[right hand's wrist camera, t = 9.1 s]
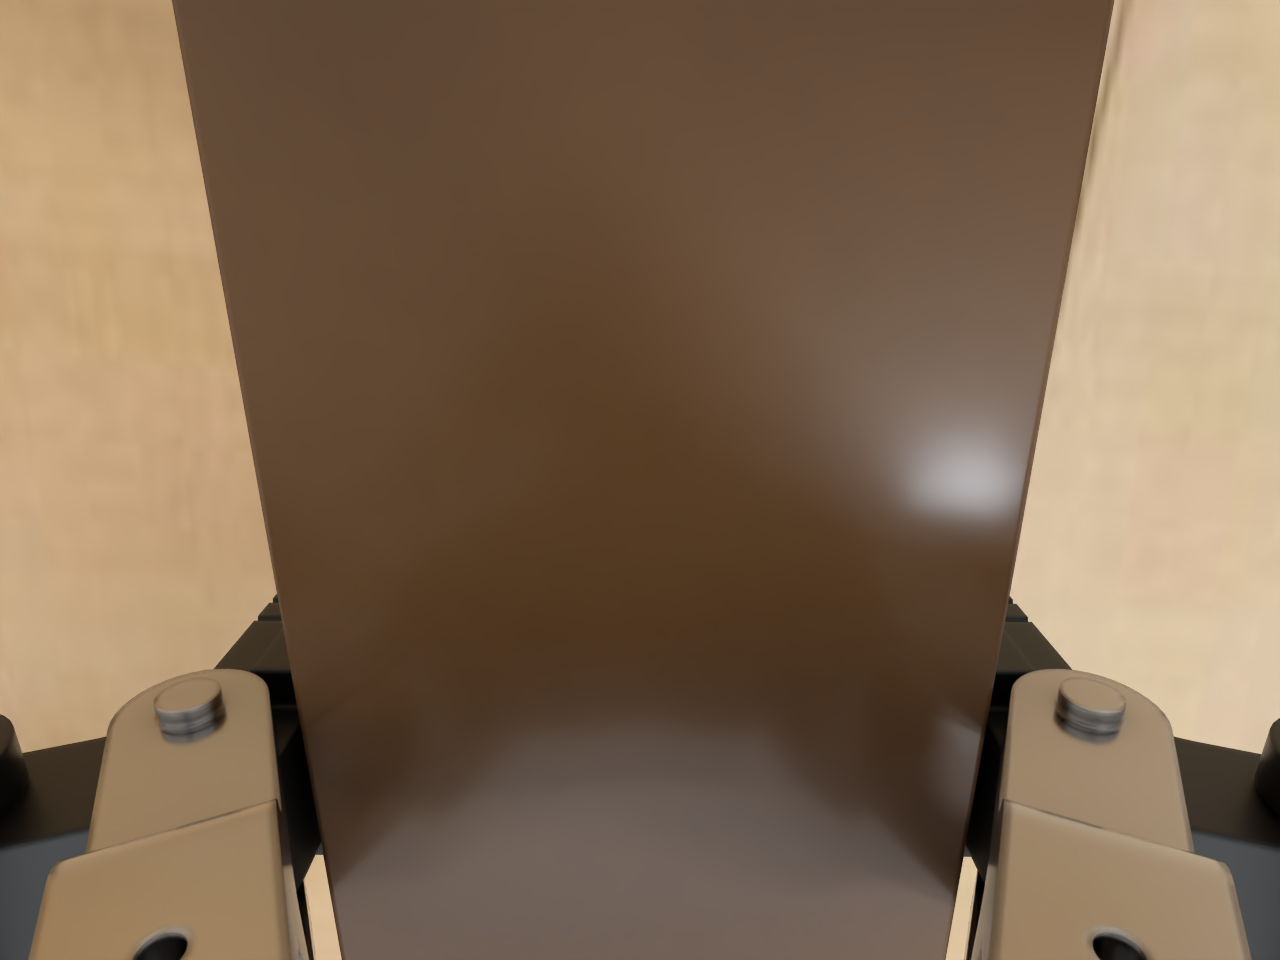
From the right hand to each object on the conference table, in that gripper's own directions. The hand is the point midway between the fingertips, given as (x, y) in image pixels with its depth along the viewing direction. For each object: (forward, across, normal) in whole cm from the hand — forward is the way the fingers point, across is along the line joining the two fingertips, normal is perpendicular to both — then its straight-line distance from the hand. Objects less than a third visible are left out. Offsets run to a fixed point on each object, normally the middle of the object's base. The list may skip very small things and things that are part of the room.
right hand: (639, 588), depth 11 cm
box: (+7, 0, -7) cm, 10 cm away
